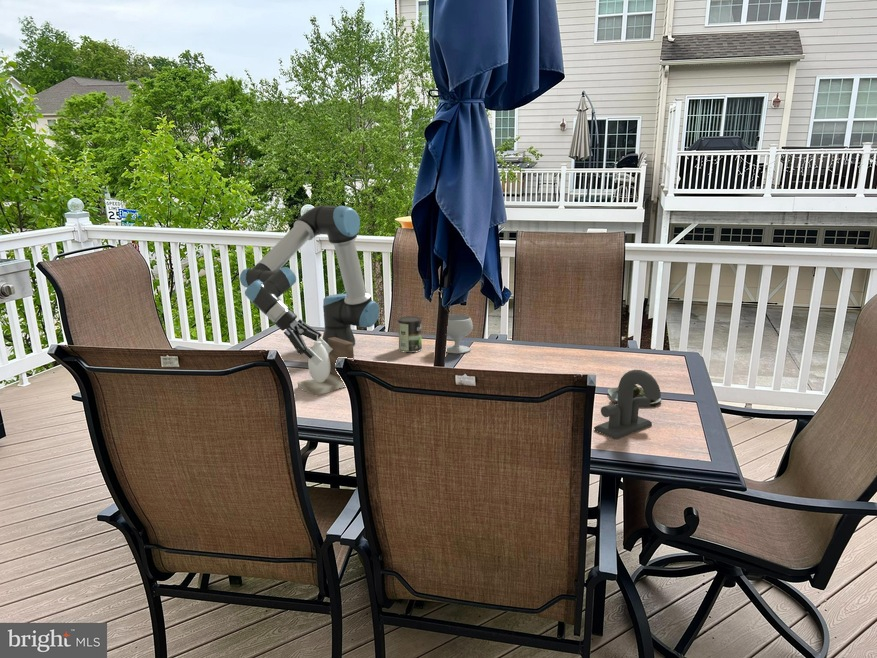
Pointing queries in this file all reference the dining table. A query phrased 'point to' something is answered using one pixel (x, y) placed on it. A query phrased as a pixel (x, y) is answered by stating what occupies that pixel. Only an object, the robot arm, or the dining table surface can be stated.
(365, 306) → the robot arm
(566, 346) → the dining table surface
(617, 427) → the faucet
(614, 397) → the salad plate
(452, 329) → the chalice
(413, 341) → the coffee can
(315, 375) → the sauce bottle
